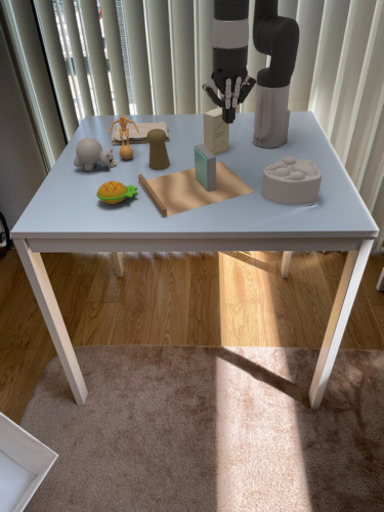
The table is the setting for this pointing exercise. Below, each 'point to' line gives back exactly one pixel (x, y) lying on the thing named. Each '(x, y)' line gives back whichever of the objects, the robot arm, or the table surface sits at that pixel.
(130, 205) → the table surface
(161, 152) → the olive pepper mill
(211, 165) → the slate tile
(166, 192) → the oak board
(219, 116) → the skincare box
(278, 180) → the lumpy-topped squat cylinder
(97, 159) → the chubby cartoon animal
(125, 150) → the figurine
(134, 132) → the washcloth
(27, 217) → the table surface
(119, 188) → the toy pineapple
